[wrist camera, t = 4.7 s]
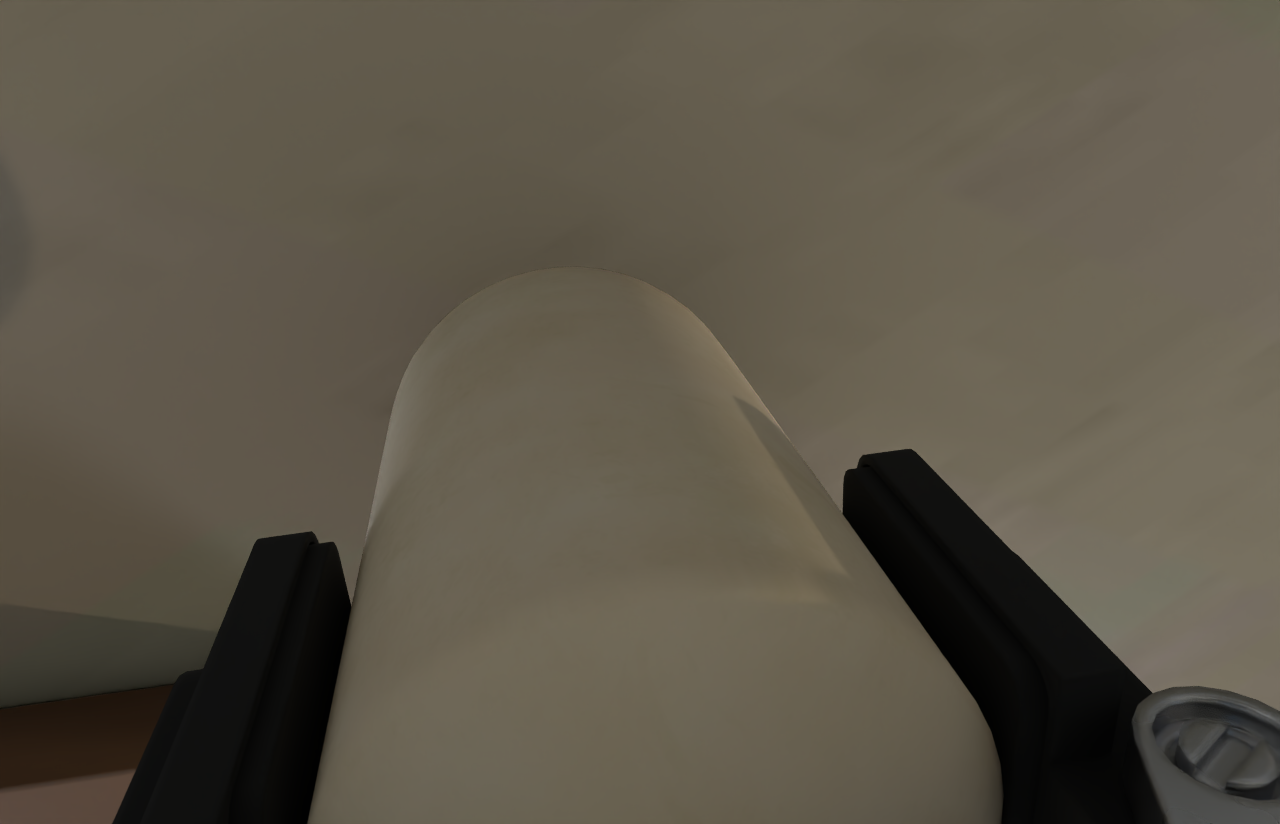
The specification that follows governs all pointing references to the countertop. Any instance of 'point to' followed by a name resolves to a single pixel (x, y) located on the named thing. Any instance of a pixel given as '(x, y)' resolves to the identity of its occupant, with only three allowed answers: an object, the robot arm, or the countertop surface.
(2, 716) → the serving board
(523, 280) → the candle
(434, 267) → the countertop surface
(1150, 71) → the countertop surface
